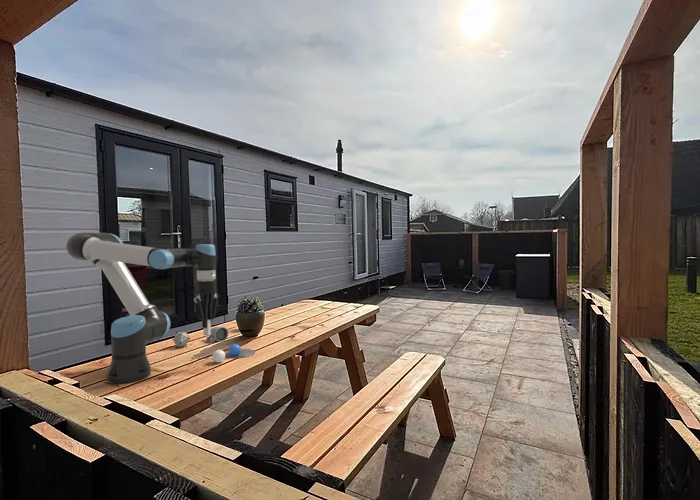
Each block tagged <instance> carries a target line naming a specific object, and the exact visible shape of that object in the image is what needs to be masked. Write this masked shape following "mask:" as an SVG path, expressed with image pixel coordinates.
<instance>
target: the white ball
mask: <svg viewBox="0 0 700 500" xmlns="http://www.w3.org/2000/svg"><path fill="white" fill-rule="evenodd" d="M225 353H226V352H225V351H224V350H222V349H217V350H215V351H213V353H212V361H214V362H215V363H222V362H223V361H224V360H225V359H226V357H225Z"/></svg>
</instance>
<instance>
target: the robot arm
mask: <svg viewBox="0 0 700 500" xmlns="http://www.w3.org/2000/svg"><path fill="white" fill-rule="evenodd" d="M65 249H66V251H67V254H69V256H70V257H71V258H73V259H75V260H78V261H91V262H92V264H93V265H94V267H95V268H98V269H101V270H102V271H103V274H104V275H105V277H106V279H107V280H108V282H109V283H110V285H111V287H112V288H113V290H114V292H115V293H116V295H117V296H118V298H119V300H120V301H121V303H122V304H123V306H124V307H125V310H126V311H127V312H128V314H129V315H128V316H123V317H120V318H118V319H115V320H114V321H113V322H112V323H111V328H110V341H111V344H110V345H111V361H110V364H109V367H108V370H107V373H106V382H107V381H109V382H113V383H112V384H116V383H118V384H125V383H124V382H128V383H133V382H137V381H141V380H143V379H145V378H147V377H149V376H150V375H151V373H152V367H151V363H150V362H149V359H148V357H147V349H146V347H147V345H148V344H150V343H152V342H154V341H158V340H160V339H162V338H163V337H164V336H166V335H167V334H168V333H169V331H170V328H171V319H170V317H169V315H168V314H167V313H165V312H163V311H160V310H159V309H158V308H157V305H154V304H150V302H149V300H148V299H147V297H146V296H145V294H144V293H143V290H142V289H141V288H140V286H139V284H138V283H137V281H136V279H135V278H134V276H133V275H132V272H131V271H130V270H129V268H128V267H127V265H126V264H133V265H138V266H145V267H152V268H154V269H157V270H166V269H171V268H172V269H173V268H182V267H196V279H197V281H196V290H197V295H196V297H193V298H192V301H193V303H194V307H195V311H196V315H197V319H198V320H200V321H202V329H203V336H207V337H209V336H210V335H211V329H212V326H213V325H212V323H213V322H212V321H213V320H214V319H215V317H216V314H217V309H218V303H219V299H220V296H221V294H218V293H216V290H215V289H217V281H216V278H217V277H216V275H217V273H216V269H217V268H216V255H217V254H216V246H215V245H214V244H213V243H212V244H210V243H208V244H207V243H206V244H205V243H202V244H201V243H200V244H199V243H198V244H197V245H196V248H172V249H171V248H170V249H169V248H168V249H165V248H159V247H152V246H143V245H136V244H129V243H123V241H122V239H121V238H120V237H119V236H118V235H115V234H113V233H108V232H77V233H75V234H73V235H72V236H71V235H70V237H69V238H68V239H67V241H66V244H65ZM132 381H133V382H132ZM109 382H108V383H109Z"/></svg>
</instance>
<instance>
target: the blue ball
mask: <svg viewBox="0 0 700 500" xmlns="http://www.w3.org/2000/svg"><path fill="white" fill-rule="evenodd" d="M241 349H242V348H241V345H239V344H237V343H233V344H231V345H230V346H229V348H228V352H229V353H230V355H232V356H237V355H239V354H240V352H241Z"/></svg>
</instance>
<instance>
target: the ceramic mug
mask: <svg viewBox="0 0 700 500" xmlns="http://www.w3.org/2000/svg"><path fill="white" fill-rule="evenodd" d="M228 335H229V330H228V329H227V327H224V326H218V325H217V326H213V327H211V335H209V336H207V337H206V338H205V342H206V343H207V344H208V343H209V344H210V343H211V342H215V341H217V342H220V343H221V342H224V341H226V340H227V338H228V337H229V336H228Z"/></svg>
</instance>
